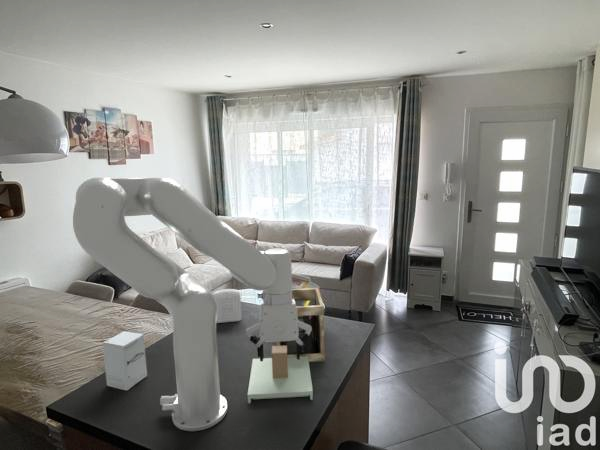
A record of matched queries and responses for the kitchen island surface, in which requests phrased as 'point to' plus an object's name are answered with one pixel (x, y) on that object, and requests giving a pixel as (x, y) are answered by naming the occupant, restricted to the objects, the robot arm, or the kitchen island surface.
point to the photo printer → (228, 305)
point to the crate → (311, 310)
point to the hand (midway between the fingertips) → (280, 357)
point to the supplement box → (124, 360)
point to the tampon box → (311, 340)
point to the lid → (280, 376)
